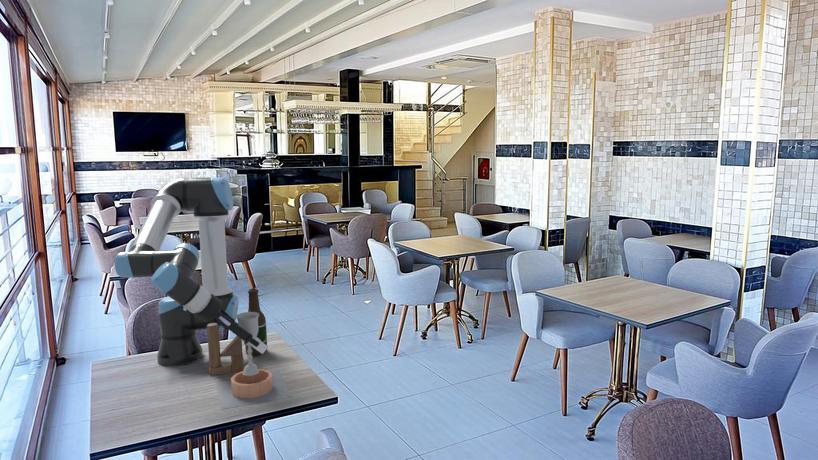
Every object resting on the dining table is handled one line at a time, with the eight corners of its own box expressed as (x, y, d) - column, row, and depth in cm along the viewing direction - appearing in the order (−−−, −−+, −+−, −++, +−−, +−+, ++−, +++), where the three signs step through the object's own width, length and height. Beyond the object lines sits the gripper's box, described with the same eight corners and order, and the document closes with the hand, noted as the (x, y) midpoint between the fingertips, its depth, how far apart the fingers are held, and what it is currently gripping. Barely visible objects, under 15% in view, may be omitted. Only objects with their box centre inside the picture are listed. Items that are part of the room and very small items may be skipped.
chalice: (238, 369, 173) (235, 313, 170) (261, 366, 175) (258, 310, 172) (239, 378, 166) (236, 320, 163) (263, 375, 168) (260, 317, 165)
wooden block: (243, 375, 186) (240, 323, 183) (209, 379, 183) (205, 326, 180) (243, 371, 189) (240, 320, 186) (210, 375, 186) (206, 323, 184)
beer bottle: (245, 357, 201) (241, 292, 198) (246, 349, 209) (242, 287, 205) (267, 355, 203) (264, 291, 200) (267, 347, 211) (264, 285, 207)
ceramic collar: (230, 385, 175) (229, 372, 174) (269, 378, 179) (268, 366, 179) (234, 401, 164) (233, 388, 163) (275, 393, 168) (274, 381, 168)
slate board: (216, 386, 177) (215, 382, 177) (279, 376, 185) (279, 371, 185) (221, 414, 159) (220, 409, 159) (291, 401, 167) (291, 396, 166)
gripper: (186, 306, 167) (243, 347, 178) (201, 322, 151) (263, 367, 162) (203, 286, 169) (259, 328, 180) (220, 300, 153) (280, 345, 164)
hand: (261, 346), depth 171 cm, fingers closed on chalice, 6 cm apart
